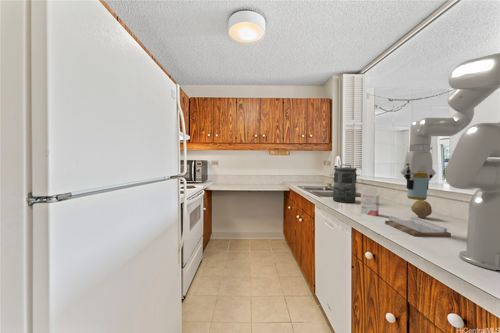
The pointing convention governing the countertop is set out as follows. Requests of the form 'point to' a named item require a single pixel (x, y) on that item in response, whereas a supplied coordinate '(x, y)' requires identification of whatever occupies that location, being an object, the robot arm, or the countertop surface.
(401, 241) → the countertop surface
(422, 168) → the bottle
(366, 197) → the ink cartridge box
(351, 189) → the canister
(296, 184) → the countertop surface
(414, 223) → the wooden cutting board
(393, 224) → the walnut board
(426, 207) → the natural sponge
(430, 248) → the countertop surface
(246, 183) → the countertop surface
